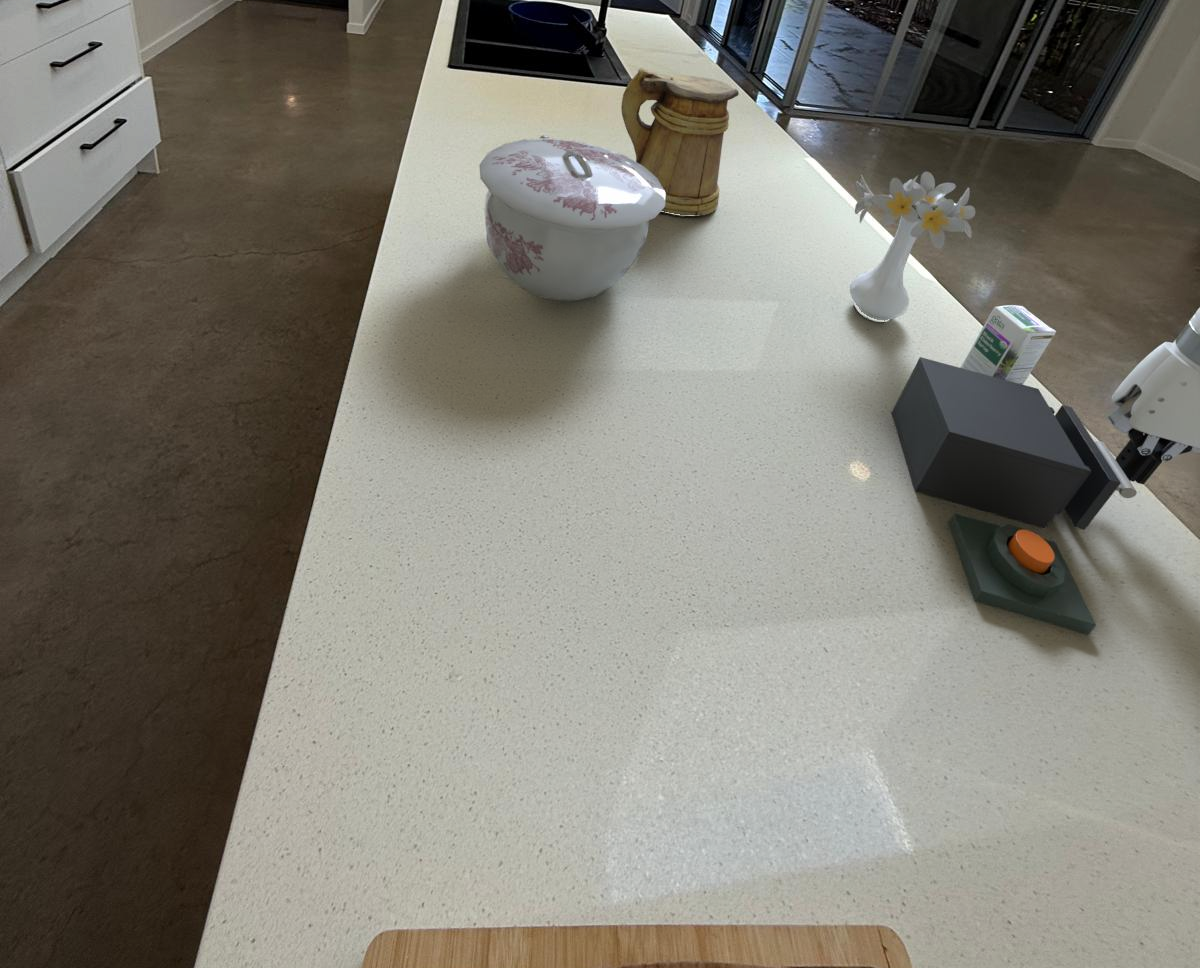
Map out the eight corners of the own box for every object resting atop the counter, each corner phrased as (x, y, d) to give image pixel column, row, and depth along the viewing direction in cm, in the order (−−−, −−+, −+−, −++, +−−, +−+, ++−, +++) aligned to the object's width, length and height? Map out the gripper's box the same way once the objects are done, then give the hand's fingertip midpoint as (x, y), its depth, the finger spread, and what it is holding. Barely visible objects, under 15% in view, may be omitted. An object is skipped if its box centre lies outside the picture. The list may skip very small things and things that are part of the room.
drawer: (1075, 461, 85) (1107, 416, 81) (1123, 541, 74) (1162, 494, 71) (936, 422, 86) (961, 377, 83) (964, 495, 76) (994, 447, 73)
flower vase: (804, 281, 114) (855, 152, 103) (904, 297, 116) (964, 171, 105) (828, 329, 102) (888, 189, 92) (939, 346, 104) (1010, 210, 93)
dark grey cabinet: (1003, 443, 87) (1038, 388, 82) (1044, 529, 75) (1088, 470, 71) (890, 412, 88) (919, 356, 84) (914, 492, 76) (949, 431, 72)
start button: (1037, 545, 69) (1045, 535, 68) (1052, 578, 66) (1061, 567, 65) (1002, 535, 69) (1010, 524, 68) (1016, 567, 66) (1024, 556, 65)
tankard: (724, 225, 127) (761, 105, 116) (605, 206, 125) (632, 82, 114) (708, 183, 143) (740, 75, 132) (603, 166, 141) (626, 54, 130)
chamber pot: (611, 355, 87) (645, 223, 78) (431, 286, 93) (444, 155, 84) (661, 257, 112) (691, 148, 103) (516, 207, 118) (532, 100, 109)
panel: (1048, 551, 72) (1063, 531, 71) (1088, 635, 64) (1106, 614, 63) (947, 522, 73) (960, 501, 72) (974, 601, 65) (989, 579, 64)
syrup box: (948, 384, 96) (992, 305, 89) (977, 381, 98) (1023, 303, 92) (978, 414, 91) (1027, 333, 85) (1009, 410, 93) (1059, 330, 87)
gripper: (1270, 351, 72) (1174, 466, 80) (1130, 314, 74) (1050, 430, 82) (1324, 399, 66) (1214, 519, 74) (1170, 357, 67) (1078, 479, 75)
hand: (1128, 472), depth 78 cm, fingers closed
